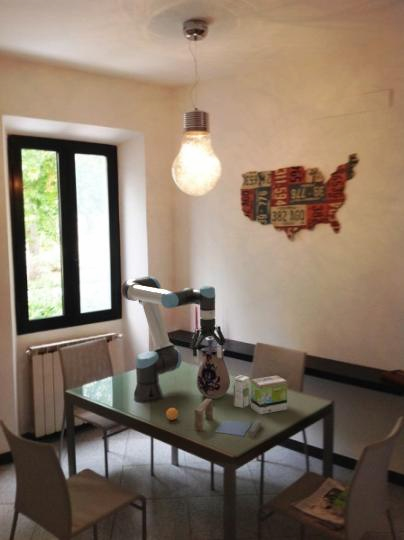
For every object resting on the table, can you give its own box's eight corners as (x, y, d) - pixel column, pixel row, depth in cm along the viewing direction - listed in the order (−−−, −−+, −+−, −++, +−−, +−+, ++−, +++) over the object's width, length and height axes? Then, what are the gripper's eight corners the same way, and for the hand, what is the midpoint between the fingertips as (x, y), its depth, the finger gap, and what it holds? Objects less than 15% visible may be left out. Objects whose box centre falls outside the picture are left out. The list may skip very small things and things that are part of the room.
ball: (164, 421, 227) (164, 409, 227) (169, 416, 232) (169, 405, 232) (175, 422, 225) (174, 411, 225) (180, 417, 230) (179, 406, 230)
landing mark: (214, 432, 214) (214, 431, 214) (224, 420, 226) (224, 419, 226) (243, 436, 210) (243, 435, 210) (251, 424, 222) (251, 423, 222)
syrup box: (240, 402, 248) (239, 374, 246) (249, 405, 244) (249, 376, 242) (233, 405, 243) (232, 377, 242) (243, 408, 239) (242, 380, 238)
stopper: (249, 436, 209) (249, 431, 209) (256, 425, 220) (256, 419, 220) (253, 437, 208) (253, 431, 208) (260, 425, 220) (260, 420, 219)
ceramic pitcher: (193, 400, 252) (191, 353, 249) (203, 386, 272) (202, 342, 269) (226, 403, 247) (225, 355, 244) (234, 388, 267) (233, 344, 264)
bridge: (195, 430, 217) (194, 410, 216) (206, 417, 230) (206, 398, 229) (201, 431, 216) (200, 411, 215) (212, 418, 229) (212, 399, 228)
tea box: (261, 415, 231) (260, 385, 229) (250, 408, 240) (250, 379, 238) (288, 409, 237) (287, 380, 235) (276, 402, 246) (276, 374, 244)
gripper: (190, 322, 230) (190, 366, 232) (232, 316, 243) (232, 357, 246) (181, 319, 236) (182, 362, 238) (223, 313, 249) (224, 353, 252)
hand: (208, 359), depth 242 cm, fingers open, 13 cm apart
